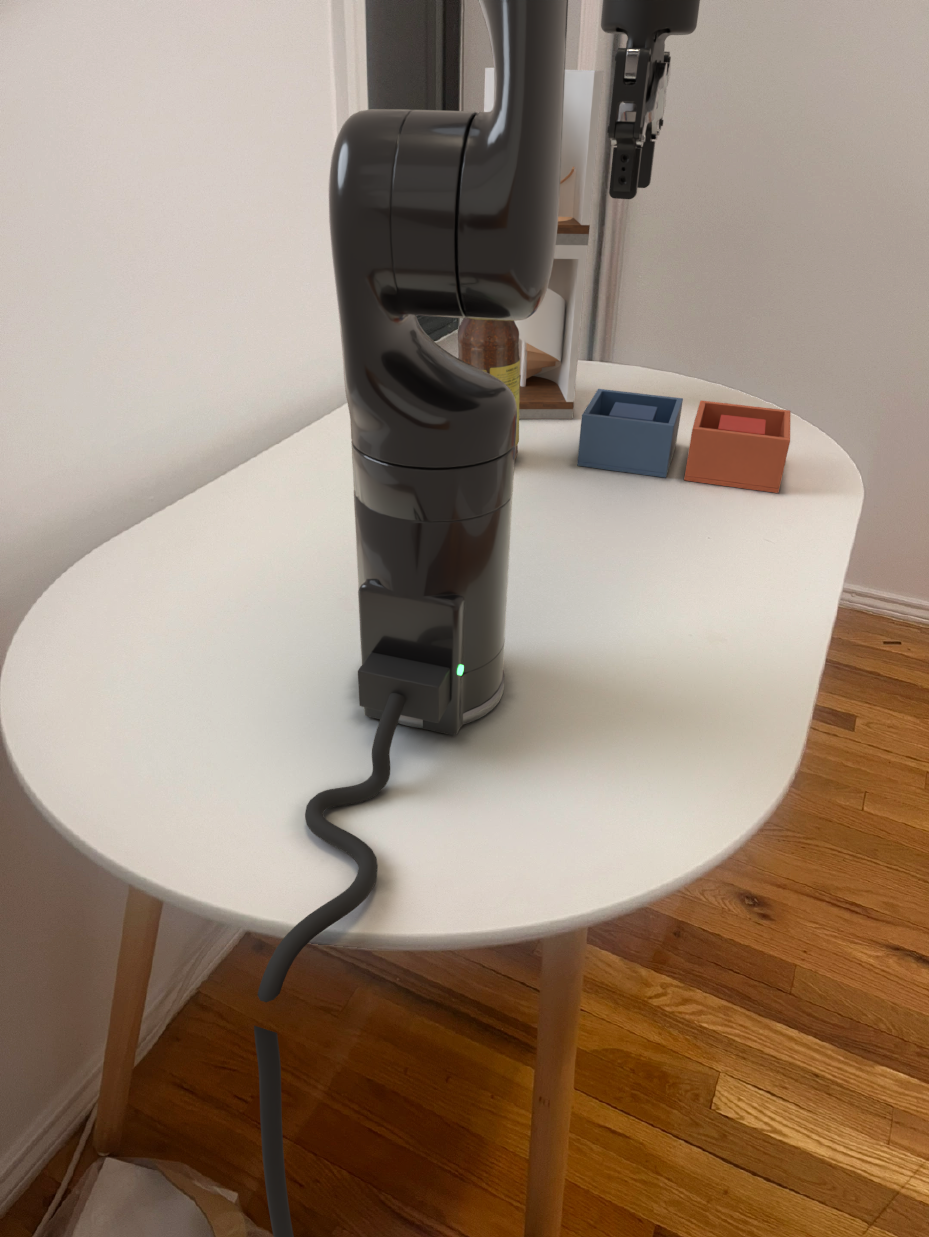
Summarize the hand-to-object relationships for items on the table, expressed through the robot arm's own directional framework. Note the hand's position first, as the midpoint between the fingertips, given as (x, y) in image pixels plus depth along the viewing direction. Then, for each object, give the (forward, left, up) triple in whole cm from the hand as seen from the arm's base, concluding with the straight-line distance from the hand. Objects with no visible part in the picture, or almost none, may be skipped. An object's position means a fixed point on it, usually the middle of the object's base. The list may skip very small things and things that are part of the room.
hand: (630, 192), depth 76 cm
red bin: (+6, -13, -26) cm, 30 cm away
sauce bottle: (0, +12, -26) cm, 29 cm away
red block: (+6, -13, -26) cm, 29 cm away
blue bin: (+6, -2, -26) cm, 27 cm away
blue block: (+6, -2, -26) cm, 26 cm away
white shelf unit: (+19, +13, -26) cm, 35 cm away
